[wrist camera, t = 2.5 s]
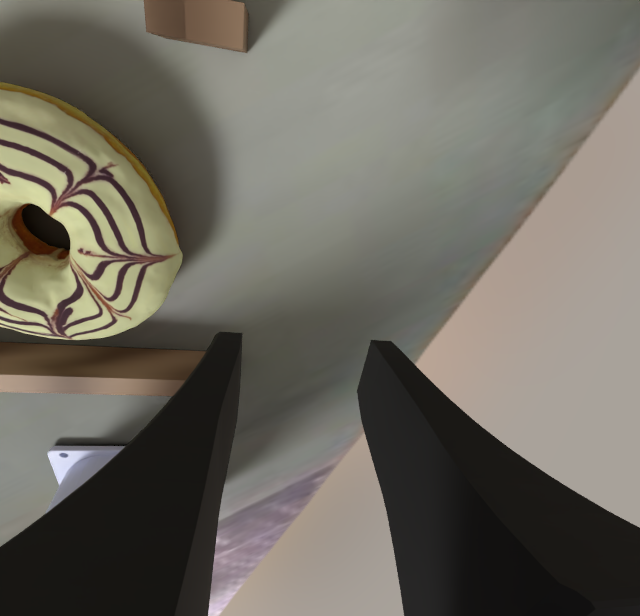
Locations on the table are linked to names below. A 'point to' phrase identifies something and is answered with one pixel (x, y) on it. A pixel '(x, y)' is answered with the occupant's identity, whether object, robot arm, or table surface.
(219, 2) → the lane
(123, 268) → the decorated donut
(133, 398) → the table surface
